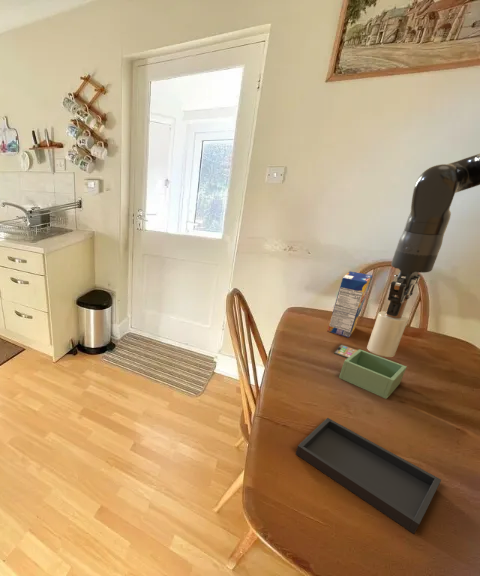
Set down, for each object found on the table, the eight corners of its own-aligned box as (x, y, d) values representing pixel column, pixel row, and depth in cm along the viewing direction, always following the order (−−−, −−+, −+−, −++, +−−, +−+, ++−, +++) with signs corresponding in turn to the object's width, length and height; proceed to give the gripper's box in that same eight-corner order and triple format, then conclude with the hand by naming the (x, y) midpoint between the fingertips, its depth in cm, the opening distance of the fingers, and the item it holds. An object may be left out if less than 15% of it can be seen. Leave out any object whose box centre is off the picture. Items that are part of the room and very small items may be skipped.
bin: (398, 386, 90) (407, 366, 88) (385, 401, 85) (393, 380, 82) (353, 367, 99) (359, 348, 97) (338, 379, 93) (344, 360, 91)
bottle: (398, 352, 87) (418, 299, 81) (390, 359, 84) (411, 305, 78) (371, 343, 92) (388, 292, 86) (363, 349, 88) (380, 297, 83)
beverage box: (326, 331, 121) (342, 277, 113) (334, 322, 128) (349, 271, 120) (348, 337, 116) (366, 282, 108) (355, 328, 123) (372, 275, 115)
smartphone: (392, 376, 95) (393, 372, 94) (333, 355, 105) (334, 352, 105) (396, 365, 100) (398, 362, 99) (340, 347, 110) (341, 344, 110)
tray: (436, 488, 62) (441, 479, 61) (414, 534, 54) (419, 524, 53) (324, 425, 77) (327, 417, 76) (295, 454, 69) (297, 445, 68)
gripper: (429, 258, 71) (404, 325, 77) (445, 249, 78) (421, 311, 84) (387, 251, 77) (366, 314, 83) (405, 243, 84) (385, 302, 90)
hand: (394, 312), depth 83 cm, fingers closed on bottle, 3 cm apart
